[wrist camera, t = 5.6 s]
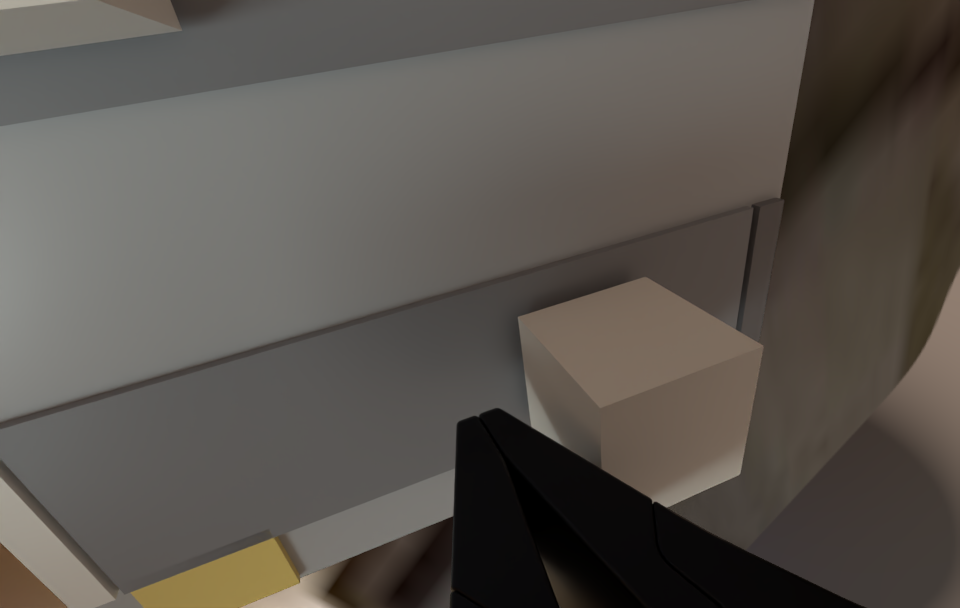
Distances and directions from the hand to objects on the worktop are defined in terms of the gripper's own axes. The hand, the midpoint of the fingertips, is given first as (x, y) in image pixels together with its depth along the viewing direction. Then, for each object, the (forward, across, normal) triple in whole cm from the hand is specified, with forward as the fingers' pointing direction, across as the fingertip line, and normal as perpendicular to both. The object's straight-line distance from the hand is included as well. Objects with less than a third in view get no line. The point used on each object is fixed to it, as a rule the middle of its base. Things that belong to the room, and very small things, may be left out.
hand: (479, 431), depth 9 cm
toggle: (+1, -3, 0) cm, 3 cm away
